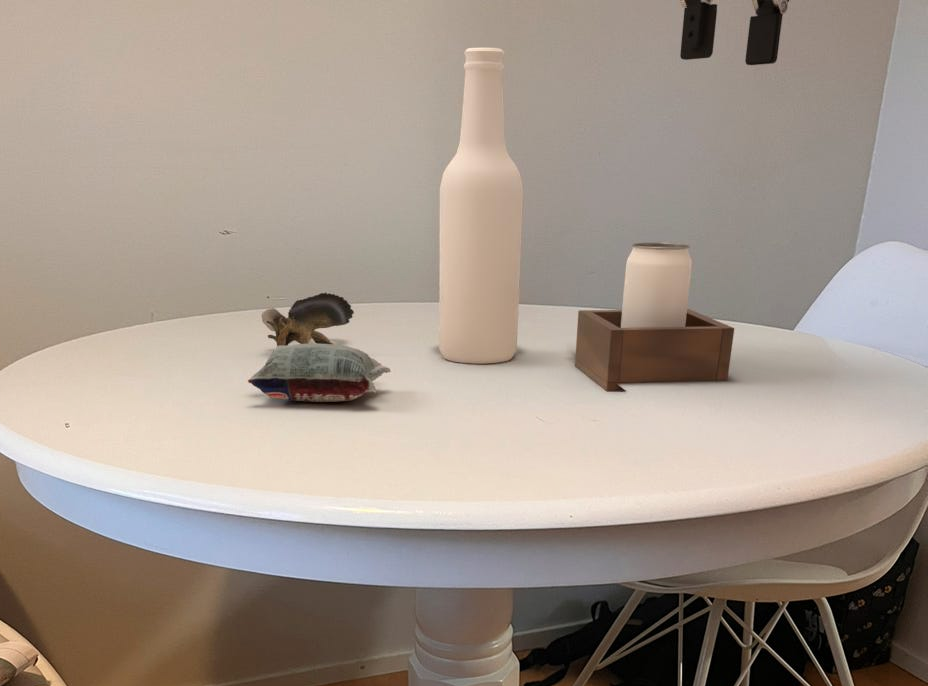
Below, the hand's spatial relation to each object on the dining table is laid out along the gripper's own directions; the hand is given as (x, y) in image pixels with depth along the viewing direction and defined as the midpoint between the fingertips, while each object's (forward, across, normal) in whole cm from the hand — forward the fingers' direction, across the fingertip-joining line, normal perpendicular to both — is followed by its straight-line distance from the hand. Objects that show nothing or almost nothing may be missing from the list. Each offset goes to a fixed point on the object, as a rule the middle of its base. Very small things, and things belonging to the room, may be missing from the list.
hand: (729, 61), depth 91 cm
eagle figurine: (+28, -27, +34) cm, 52 cm away
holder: (+29, -5, +2) cm, 29 cm away
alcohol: (+28, -13, +21) cm, 37 cm away
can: (+28, -5, +2) cm, 29 cm away
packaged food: (+29, -37, +14) cm, 49 cm away
